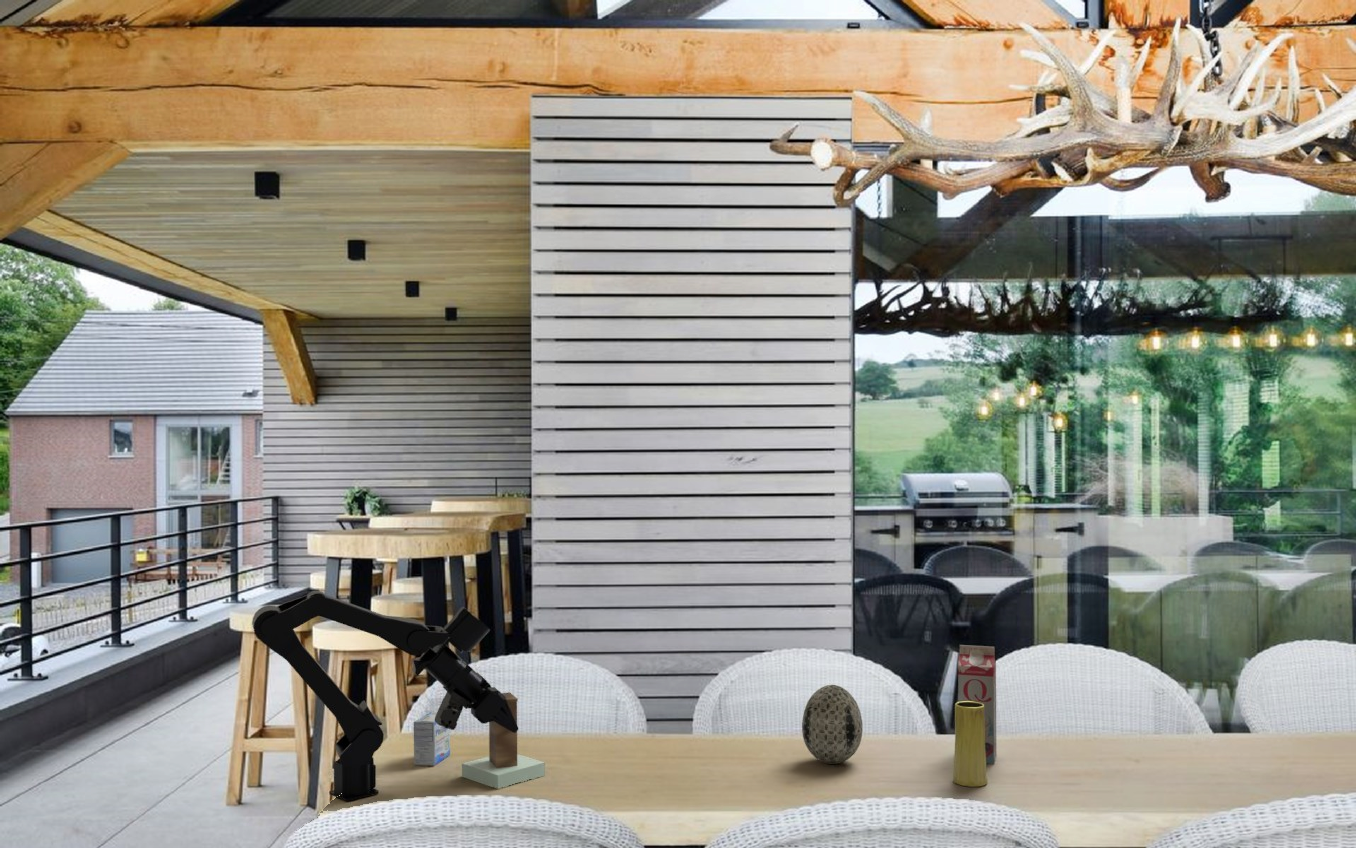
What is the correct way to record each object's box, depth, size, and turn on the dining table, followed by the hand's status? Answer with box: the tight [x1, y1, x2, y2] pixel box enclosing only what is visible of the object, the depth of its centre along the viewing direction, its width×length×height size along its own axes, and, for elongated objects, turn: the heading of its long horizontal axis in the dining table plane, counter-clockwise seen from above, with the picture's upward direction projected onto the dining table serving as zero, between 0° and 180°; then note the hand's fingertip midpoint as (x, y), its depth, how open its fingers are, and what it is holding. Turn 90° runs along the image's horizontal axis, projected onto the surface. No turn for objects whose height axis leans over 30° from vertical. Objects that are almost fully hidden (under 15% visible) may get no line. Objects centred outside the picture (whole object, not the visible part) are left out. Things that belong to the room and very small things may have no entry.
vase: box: [952, 701, 988, 788], centre depth 214 cm, size 6×6×14 cm
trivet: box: [461, 753, 546, 790], centre depth 220 cm, size 11×11×2 cm
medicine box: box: [413, 711, 451, 767], centre depth 231 cm, size 8×4×9 cm, turn 168°
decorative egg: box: [801, 684, 864, 765], centre depth 227 cm, size 12×12×15 cm
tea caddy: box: [488, 692, 519, 768], centre depth 220 cm, size 4×6×12 cm
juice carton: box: [957, 644, 997, 765], centre depth 230 cm, size 7×7×22 cm
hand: (510, 725), depth 221 cm, fingers open, 9 cm apart
